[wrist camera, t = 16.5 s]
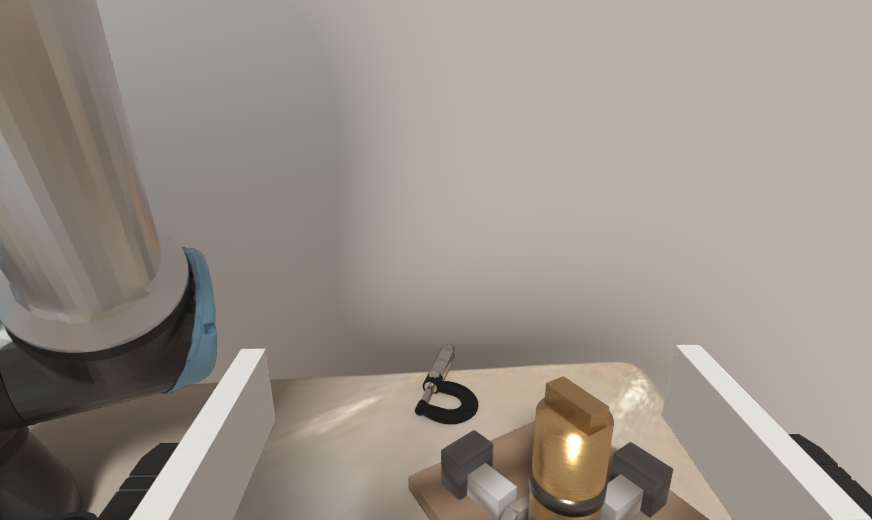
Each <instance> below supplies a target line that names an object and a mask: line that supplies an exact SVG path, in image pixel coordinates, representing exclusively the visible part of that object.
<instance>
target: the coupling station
mask: <svg viewBox="0 0 872 520" xmlns="http://www.w3.org/2000/svg"><path fill="white" fill-rule="evenodd" d="M534 430H535V422H532V423H530V424H528V425H525V426H523V427H521V428H519V429H516V430H514V431H512V432H509V433H507V434H505V435H503V436H500V437H498V438H496V439H493V440H491V441H489V440H488V439H486V438H485V437H483V436H482V435H481V434H479V433H478V432H476V431H475V430H473V431H472V432H470V433H468V434H467V435H465V436H463V437H462V438H460V439H458V440H457V441H455V442H454V443H452V444H450V445H449V446H447V447H445V448H444V449H442V450H441V463H439V464H436V465H434V466H432V467H429V468H427V469H425V470H423V471H420V472H418V473H416V474H413V475H411V476H409V490H410V492H411V493H412V494H413V496H414V497H415V499H416V500H417V502H418V503H419V505H420V506H421V507H422V509H423V510H424V512H425V513H426V515H427V516H428V517H429V519H430V520H528V511H529V497H530V488H529V468H530V463H531V460H532V457H533V444H534ZM672 473H673V468H671V467H669V466H668V465H666V464H665V463H663V462H662V461H660V460H658V459H657V458H655V457H654V456H652V455H651V454H649V453H647V452H646V451H644V450H643V449H641V448H640V447H638V446H636V445H635V444H633V443H632V442H629V443H628V444H627V445H625V446H624V447H622V448H621V449H619V450H616V449H615V448H614V447H612V446H611V447H610V454H609V461H608V468H607V479H608V485H607V492H606V499H605V502H604V505H603V506H602V511H601V518H600V520H709V519H708V518H707V517H705V516H704V515H703V514H701V513H700V512H699V511H697V510H696V509H695V508H693V507H692V506H691V505H689V504H688V503H687V502H685V501H684V500H683V499H681V498H680V497H679V496H677V495H676V494H675V493H673V492H672V491H671V490H669V488H670V483H671V478H672Z"/></svg>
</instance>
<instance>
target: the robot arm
mask: <svg viewBox="0 0 872 520" xmlns="http://www.w3.org/2000/svg"><path fill="white" fill-rule="evenodd" d="M215 312H216V311H215V302H214V295H213V288H212V282H211V277H210V273H209V269H208V265H207V262H206V259H205V257H204V255H203V254H202V252H200V251H198V250H196V249H194V248H185V247H181V246H180V244H179V243H178V241H177V240H176V239H175V238H174V237H173V236H172V235H171V234H170V233H168V232H167V231H165V230H164V229H163V228H161V227H159V226H157V225H156V224H154V220H153V217H152V213H151V209H150V205H149V201H148V198H147V193H146V190H145V186H144V182H143V178H142V174H141V171H140V167H139V163H138V159H137V155H136V151H135V147H134V144H133V140H132V136H131V132H130V129H129V124H128V121H127V117H126V113H125V109H124V105H123V101H122V98H121V94H120V90H119V86H118V82H117V78H116V75H115V71H114V67H113V63H112V59H111V55H110V52H109V48H108V44H107V40H106V36H105V33H104V29H103V25H102V21H101V17H100V13H99V9H98V6H97V2H96V0H0V520H233V519H234V516H235V514H236V512H237V509H238V507H239V505H240V502H241V500H242V498H243V495H244V493H245V491H246V488H247V486H248V484H249V481H250V479H251V476H252V474H253V472H254V469H255V467H256V465H257V462H258V460H259V458H260V455H261V453H262V451H263V448H264V446H265V444H266V441H267V439H268V437H269V434H270V432H271V430H272V427H273V425H274V423H275V420H276V418H275V411H274V404H273V397H272V390H271V383H270V376H269V370H268V362H267V354H266V349H241V350H240V352H239V353H238V355H237V357H236V358H235V360H234V361H233V363H232V364H231V366H230V367H229V369H228V370H227V372H226V373H225V375H224V376H223V378H222V380H221V381H220V382H219V384H218V385H217V387H216V388H215V390H214V391H213V393H212V394H211V396H210V398H209V399H208V401H207V402H206V404H205V405H204V407H203V408H202V410H201V411H200V413H199V414H198V416H197V417H196V419H195V420H194V422H193V423H192V425H191V426H190V428H189V430H188V431H187V433H186V434H185V436H184V437H183V439H182V440H181V442H180V443H160V444H159V445H157V446H156V447H155V448H154V449H152V450H151V451H150V452H148V453H147V454H146V455H145V456H143V457H142V458H141V459H140V461H139V462H138V464H137V465H136V466H135V468H134V469H133V470H132V472H131V473H130V476H129V478H127V479H126V480H125V481H124V483H123V484H122V485H121V487H120V488H119V492H116V494H115V495H114V496H113V498H112V499H111V501H110V502H109V503H108V505H107V506H106V507H105V509H104V510H103V512H102V513H101V514H100V516H99V517H98V518H97V517H96V515H95V514H93V513H90V512H86V511H80V505H81V502H80V496H79V492H78V489H77V486H76V483H75V480H74V478H73V476H72V474H71V473H70V471H69V470H68V469H67V467H66V466H64V465H63V464H62V463H61V462H60V461H59V460H58V459H57V458H56V457H55V456H54V455H53V454H52V453H51V452H50V451H49V450H48V449H47V448H46V447H45V446H44V445H43V444H42V443H40V442H39V441H38V440H37V439H36V438H35V437H34V436H33V435H32V434H31V433H30V431H29V428H28V426H30V425H34V424H37V423H40V422H44V421H48V420H52V419H57V418H61V417H65V416H69V415H73V414H77V413H81V412H85V411H89V410H93V409H97V408H101V407H105V406H109V405H113V404H117V403H121V402H125V401H129V400H133V399H137V398H141V397H145V396H149V395H153V394H157V393H164V394H165V393H171V392H174V391H175V390H177V389H178V388H180V387H183V386H186V385H190V384H193V383H197V382H199V381H202V380H203V379H205V378H206V377H207V376H209V374H210V373H211V372H212V370H213V368H214V366H215V362H216V355H217V331H216V326H215V321H216V320H215ZM662 417H663V418H664V420H665V421H666V423H667V424H668V425H669V427H670V428H671V430H672V431H673V433H674V434H675V436H676V437H677V439H678V440H679V442H680V443H681V445H682V446H683V447H684V449H685V450H686V452H687V453H688V455H689V456H690V458H691V459H692V461H693V462H694V464H695V465H696V467H697V468H698V470H699V471H700V472H701V474H702V475H703V477H704V478H705V480H706V481H707V483H708V484H709V486H710V487H711V489H712V490H713V492H714V493H715V495H716V496H717V497H718V499H719V500H720V502H721V503H722V505H723V506H724V508H725V509H726V511H727V512H728V514H729V515H730V517H731V518H732V520H872V496H871V495H870V494H868V493H867V492H866V491H865V490H864V489H863V488H862V487H861V486H860V485H859V484H858V483H857V482H856V481H855V480H852V479H851V476H850V475H849V474H848V473H846V471H845V470H844V469H842V468H841V467H838V464H837V463H836V462H835V461H834V460H833V459H832V458H831V457H830V456H829V455H828V454H827V453H826V452H825V451H824V450H823V449H822V448H820V447H819V446H817V445H816V444H814V443H812V442H811V441H809V440H807V439H806V438H804V437H802V436H801V435H799V434H787V433H786V432H785V431H784V430H783V429H782V428H781V427H780V426H779V425H778V424H777V423H776V422H775V421H774V420H773V419H772V418H771V417H770V416H769V415H768V414H767V413H766V412H765V411H764V410H763V409H762V408H761V407H760V406H759V405H758V404H757V403H756V402H755V401H754V400H753V399H752V398H751V397H750V396H749V395H748V394H747V393H746V392H745V391H744V390H743V389H742V388H741V387H740V386H739V385H738V384H737V382H736V381H735V380H734V379H733V378H732V377H730V376H729V374H727V372H726V371H725V370H724V369H723V368H722V367H721V366H720V365H719V364H718V363H717V362H716V361H714V359H713V358H712V357H711V356H710V355H709V354H708V353H707V352H706V351H705V350H704V349H703V348H702V347H701V346H700V345H676V347H675V352H674V357H673V362H672V367H671V372H670V377H669V382H668V387H667V392H666V396H665V401H664V406H663V411H662Z"/></svg>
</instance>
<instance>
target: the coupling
mask: <svg viewBox="0 0 872 520" xmlns="http://www.w3.org/2000/svg"><path fill="white" fill-rule="evenodd" d="M613 426H614V420H613V416H612V414H611V413H610V411H609V406H607V405H606V404H604V403H603V402H601V401H600V400H598V399H597V398H595V397H594V396H592V395H591V394H589V393H588V392H586V391H585V390H583V389H582V388H580V387H579V386H577V385H576V384H574V383H573V382H571V381H570V380H568V379H567V378H565V377H564V376H563V377H560V378H558V379H555V380H553V381H550V382H548V383H546V390H545V398H543V399H542V400H541V401H540V402H539V403H538V405H537V407H536V417H535V430H534V444H533V457H532V460H531V463H530V468H529V488H530V497H529V511H528V520H600V518H601V511H602V506H603V505H604V502H605V499H606V492H607V485H608V479H607V468H608V461H609V454H610V447H611V440H612V433H613Z"/></svg>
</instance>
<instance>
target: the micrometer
mask: <svg viewBox="0 0 872 520" xmlns="http://www.w3.org/2000/svg"><path fill="white" fill-rule="evenodd" d="M454 349H455V347H454V345H453V344H451V343H448V344H447V345H446V346H445V347H443V348H441V350H440V351H439V353H438V356H437V358H436V360H435V361H434V363H433V365H432V368H431V370H430V371H429V374H428V375H427V377H426V379H425V381H424V383H423V389H424V391H425V392H424V394H423V396H422V398H421V400H420V401H419V402H418V405H417V407H416V409H415V413H416V414H417V415H422V414H423V415H425V416H426V417H428V418H430V419H432V420H434V421H437V422H440V423H444V424H459V423H462V422H465V421H467V420H469V419H471V418H472V417H473V416H474V415H475V414H476V412H477V410H478V400H477V398H476V396H475V395H474V393H473V392H472V391H470V390H469V389H468V388H466V387H465V386H463V385H460V384H458V383H455V382H450V381H443V380H444V378H445V375H446V374H447V372H448V370H449V367H450V364H451V362H452V361H453V359H454V356H455V354H454ZM438 391H439V392H443V393H446V394H450V395H453V396H455V397H457V398H458V399H459V400H460V401H461V404H462V405H461V406H460V407H459V408H457V409H444V408H440V407H437V406H434V405H430V404H427V402H428V400H429V398H430V396H431V394H432V393H433V394H436V393H437V392H438Z"/></svg>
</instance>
